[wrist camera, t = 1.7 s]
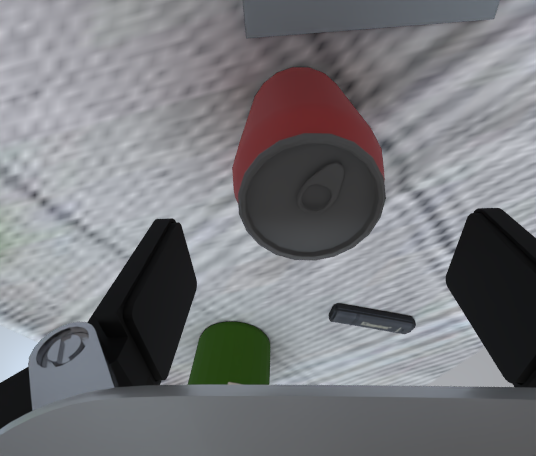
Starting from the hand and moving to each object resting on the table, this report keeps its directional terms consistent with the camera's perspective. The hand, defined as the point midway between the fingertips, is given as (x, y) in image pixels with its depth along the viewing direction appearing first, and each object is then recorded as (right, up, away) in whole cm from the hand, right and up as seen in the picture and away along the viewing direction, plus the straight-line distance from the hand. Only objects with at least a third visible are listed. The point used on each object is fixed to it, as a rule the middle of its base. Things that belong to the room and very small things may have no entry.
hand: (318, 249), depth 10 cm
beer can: (0, +9, +11) cm, 14 cm away
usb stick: (+10, -9, +24) cm, 27 cm away
